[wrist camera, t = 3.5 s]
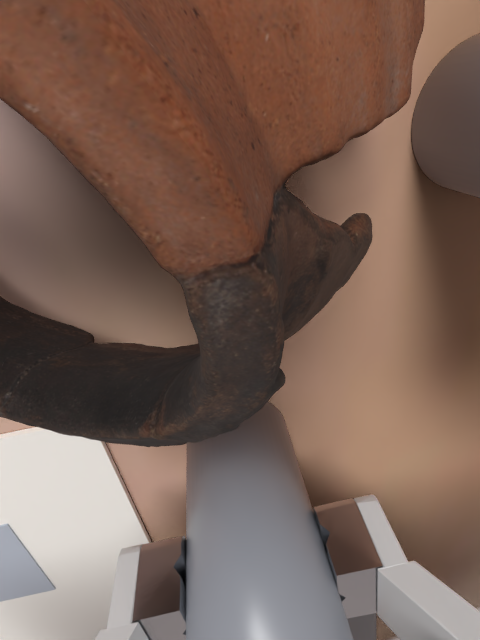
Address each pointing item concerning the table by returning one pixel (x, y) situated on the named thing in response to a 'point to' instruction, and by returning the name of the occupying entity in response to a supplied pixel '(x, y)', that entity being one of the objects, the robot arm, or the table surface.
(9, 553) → the paper
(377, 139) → the table surface
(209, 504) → the marker teal
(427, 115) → the marker ochre
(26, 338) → the pottery mug
